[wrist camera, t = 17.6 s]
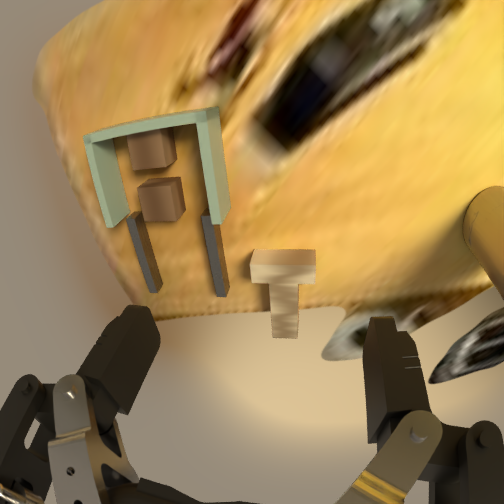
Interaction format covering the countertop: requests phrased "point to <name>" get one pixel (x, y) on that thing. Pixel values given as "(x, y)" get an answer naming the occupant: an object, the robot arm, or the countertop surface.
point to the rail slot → (149, 262)
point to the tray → (102, 140)
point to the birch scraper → (283, 284)
